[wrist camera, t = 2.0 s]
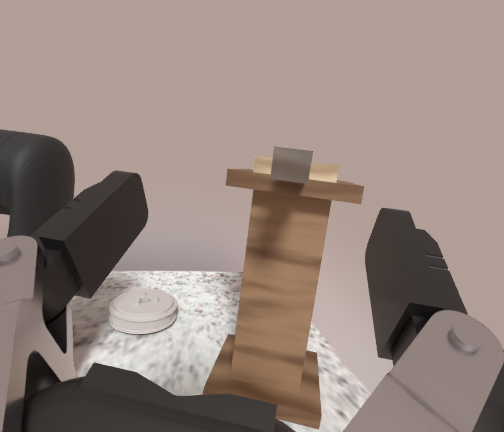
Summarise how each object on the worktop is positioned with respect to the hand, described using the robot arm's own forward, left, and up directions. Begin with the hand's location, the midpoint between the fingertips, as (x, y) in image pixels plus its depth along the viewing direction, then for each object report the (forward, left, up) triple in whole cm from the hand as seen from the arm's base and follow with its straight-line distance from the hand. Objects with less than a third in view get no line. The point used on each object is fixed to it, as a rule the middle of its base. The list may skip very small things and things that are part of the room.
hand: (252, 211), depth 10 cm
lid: (-43, +24, -32) cm, 59 cm away
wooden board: (-13, +24, +1) cm, 27 cm away
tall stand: (-16, +29, -31) cm, 46 cm away
